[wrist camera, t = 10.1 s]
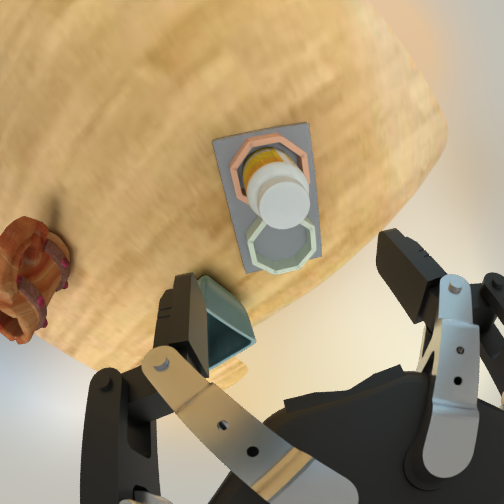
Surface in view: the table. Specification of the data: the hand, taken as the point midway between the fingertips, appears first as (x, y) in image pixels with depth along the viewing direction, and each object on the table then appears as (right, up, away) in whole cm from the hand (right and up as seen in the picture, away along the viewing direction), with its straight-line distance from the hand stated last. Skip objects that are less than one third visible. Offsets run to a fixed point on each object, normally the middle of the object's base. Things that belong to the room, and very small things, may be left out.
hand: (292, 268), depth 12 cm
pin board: (+1, +7, +21) cm, 22 cm away
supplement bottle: (0, +9, +18) cm, 20 cm away
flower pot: (-8, -5, +28) cm, 29 cm away
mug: (-28, +3, +20) cm, 35 cm away
